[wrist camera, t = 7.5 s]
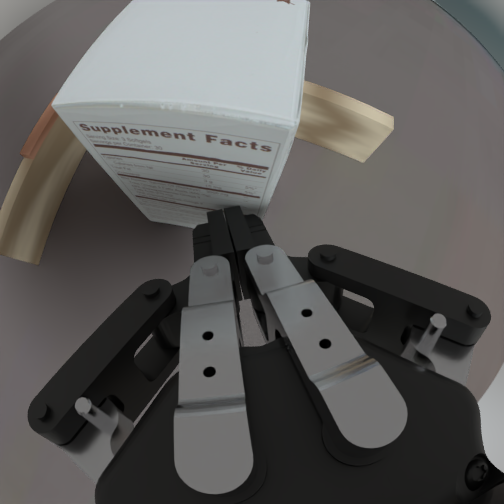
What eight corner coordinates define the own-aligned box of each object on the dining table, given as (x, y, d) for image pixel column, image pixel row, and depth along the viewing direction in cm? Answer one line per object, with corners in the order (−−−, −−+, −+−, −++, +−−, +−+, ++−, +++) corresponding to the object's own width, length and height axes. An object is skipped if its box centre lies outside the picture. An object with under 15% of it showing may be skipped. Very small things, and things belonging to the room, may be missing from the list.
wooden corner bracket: (29, 260, 16) (-18, 246, 11) (114, 87, 20) (96, 45, 14) (316, 366, 17) (351, 388, 11) (364, 151, 20) (397, 112, 15)
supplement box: (176, 132, 19) (142, -13, 7) (273, 147, 19) (317, -2, 7) (146, 223, 18) (41, 105, 5) (255, 244, 18) (307, 125, 6)
